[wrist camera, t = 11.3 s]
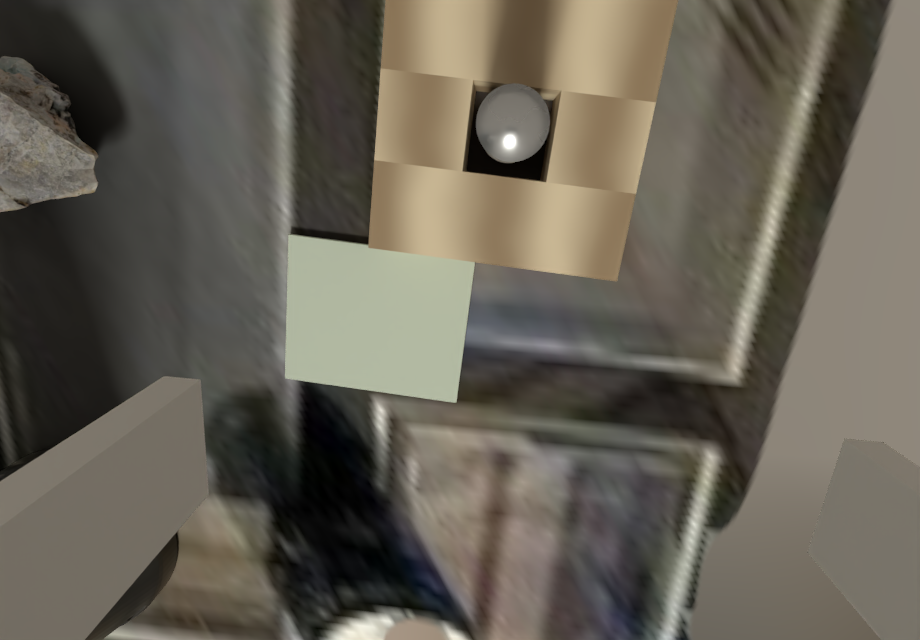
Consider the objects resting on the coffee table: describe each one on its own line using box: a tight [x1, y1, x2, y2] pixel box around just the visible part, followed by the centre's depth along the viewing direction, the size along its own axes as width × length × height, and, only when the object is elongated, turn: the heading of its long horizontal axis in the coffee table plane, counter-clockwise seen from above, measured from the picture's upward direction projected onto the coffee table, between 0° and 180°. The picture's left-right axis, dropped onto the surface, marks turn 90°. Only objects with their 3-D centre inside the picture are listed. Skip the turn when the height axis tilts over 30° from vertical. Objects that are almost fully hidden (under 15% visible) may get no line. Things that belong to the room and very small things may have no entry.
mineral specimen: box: [0, 56, 99, 212], centre depth 30 cm, size 10×8×10 cm
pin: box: [476, 83, 550, 163], centre depth 26 cm, size 3×3×10 cm
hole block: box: [368, 0, 678, 281], centre depth 28 cm, size 14×14×4 cm
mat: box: [285, 234, 475, 403], centre depth 34 cm, size 12×10×1 cm
